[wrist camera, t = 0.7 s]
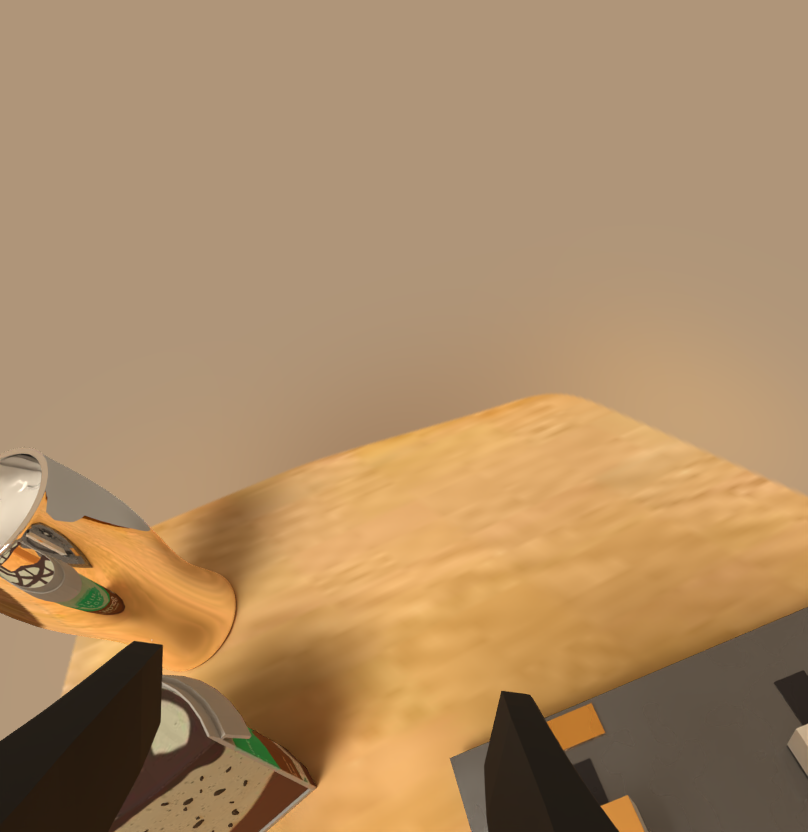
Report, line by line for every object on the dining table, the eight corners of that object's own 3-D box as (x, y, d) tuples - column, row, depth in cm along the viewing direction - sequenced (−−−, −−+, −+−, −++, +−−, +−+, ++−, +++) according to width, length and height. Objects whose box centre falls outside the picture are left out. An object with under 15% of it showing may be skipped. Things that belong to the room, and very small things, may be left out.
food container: (291, 664, 34) (175, 601, 26) (341, 766, 30) (221, 725, 22) (107, 818, 33) (-69, 797, 25) (132, 947, 29) (-67, 967, 21)
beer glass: (139, 605, 40) (-75, 497, 29) (229, 546, 40) (48, 417, 29) (154, 704, 36) (-95, 620, 24) (255, 637, 36) (52, 524, 25)
